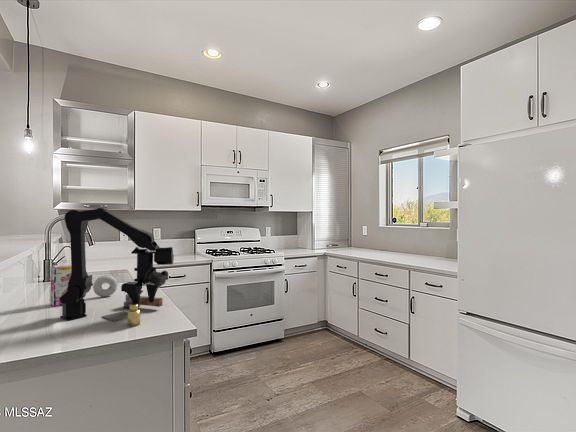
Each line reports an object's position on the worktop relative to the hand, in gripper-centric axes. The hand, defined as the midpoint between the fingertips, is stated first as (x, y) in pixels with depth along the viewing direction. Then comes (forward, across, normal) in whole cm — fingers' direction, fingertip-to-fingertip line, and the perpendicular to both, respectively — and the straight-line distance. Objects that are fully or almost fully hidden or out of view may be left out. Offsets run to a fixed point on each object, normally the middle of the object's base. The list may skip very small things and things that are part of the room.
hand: (144, 305), depth 127 cm
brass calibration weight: (+3, -12, -5) cm, 13 cm away
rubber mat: (+3, -6, +7) cm, 9 cm away
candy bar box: (+4, +3, +41) cm, 41 cm away
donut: (+3, +17, +34) cm, 38 cm away
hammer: (+3, +6, +5) cm, 9 cm away
